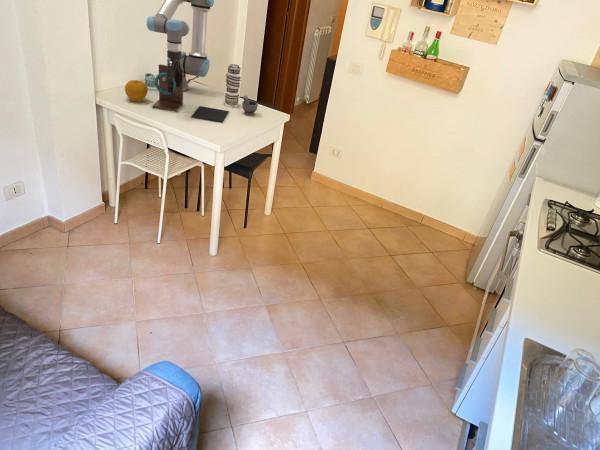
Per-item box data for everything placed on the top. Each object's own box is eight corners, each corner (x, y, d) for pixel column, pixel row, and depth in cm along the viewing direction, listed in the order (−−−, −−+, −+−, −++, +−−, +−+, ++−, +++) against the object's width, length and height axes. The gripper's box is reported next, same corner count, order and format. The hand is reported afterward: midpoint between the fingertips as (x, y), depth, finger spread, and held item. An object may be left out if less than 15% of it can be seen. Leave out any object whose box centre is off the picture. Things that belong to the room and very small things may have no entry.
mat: (199, 107, 266) (199, 106, 266) (228, 112, 267) (228, 110, 266) (191, 117, 249) (191, 116, 249) (222, 122, 250) (222, 121, 249)
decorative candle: (221, 105, 276) (224, 64, 263) (227, 101, 284) (230, 62, 271) (235, 108, 275) (238, 68, 262) (240, 104, 283) (243, 65, 269)
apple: (144, 96, 266) (144, 77, 260) (151, 103, 258) (150, 84, 251) (122, 97, 259) (121, 77, 253) (128, 104, 251) (127, 84, 245)
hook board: (160, 101, 264) (159, 64, 252) (183, 104, 265) (183, 68, 253) (151, 108, 251) (150, 69, 240) (175, 112, 252) (176, 74, 240)
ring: (155, 91, 250) (155, 70, 244) (176, 95, 251) (176, 74, 244) (154, 92, 248) (154, 71, 242) (175, 96, 249) (175, 75, 243)
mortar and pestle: (249, 110, 276) (250, 91, 270) (259, 114, 272) (262, 96, 265) (236, 113, 268) (238, 93, 261) (247, 117, 264) (249, 98, 257)
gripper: (174, 45, 247) (173, 82, 258) (160, 53, 226) (160, 93, 237) (187, 47, 247) (186, 85, 258) (174, 56, 226) (174, 96, 237)
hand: (174, 89), depth 248 cm, fingers open, 13 cm apart
